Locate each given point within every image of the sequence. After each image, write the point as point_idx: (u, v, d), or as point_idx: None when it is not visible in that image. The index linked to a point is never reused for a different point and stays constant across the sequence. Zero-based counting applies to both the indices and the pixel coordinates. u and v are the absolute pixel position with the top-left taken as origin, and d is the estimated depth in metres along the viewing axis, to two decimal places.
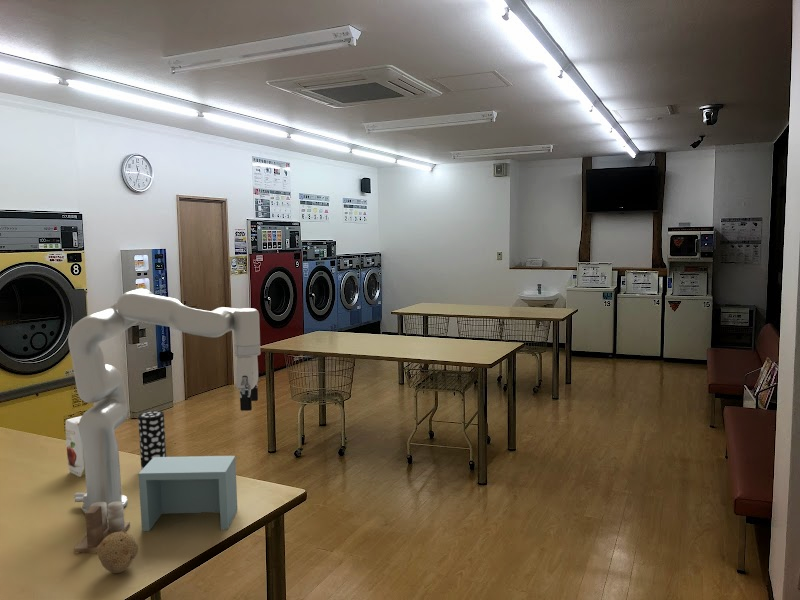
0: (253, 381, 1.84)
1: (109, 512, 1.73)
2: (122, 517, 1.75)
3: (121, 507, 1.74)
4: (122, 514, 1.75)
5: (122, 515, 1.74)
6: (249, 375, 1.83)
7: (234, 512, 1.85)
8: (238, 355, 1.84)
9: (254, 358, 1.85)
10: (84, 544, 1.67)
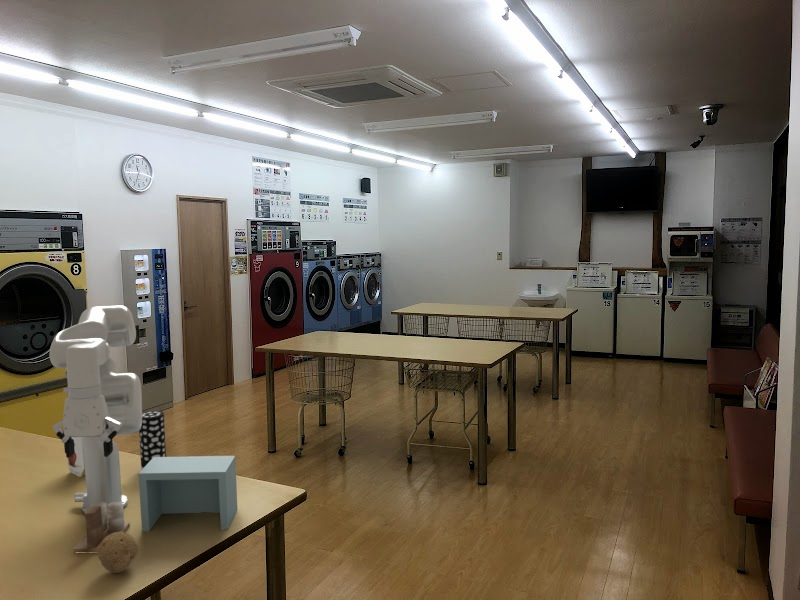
0: None
1: (109, 512, 1.73)
2: (122, 517, 1.74)
3: (121, 507, 1.74)
4: (122, 514, 1.74)
5: (122, 515, 1.74)
6: (107, 414, 1.64)
7: (234, 512, 1.85)
8: (93, 397, 1.60)
9: None
10: (84, 544, 1.66)
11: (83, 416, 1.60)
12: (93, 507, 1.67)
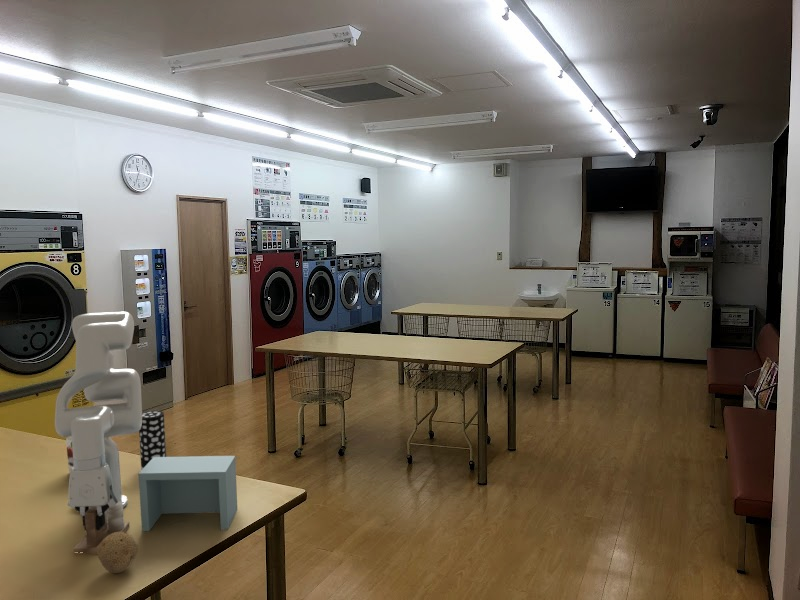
0: None
1: (108, 512, 1.72)
2: (122, 517, 1.74)
3: (120, 507, 1.74)
4: (122, 514, 1.74)
5: (121, 514, 1.74)
6: (112, 482, 1.66)
7: (234, 512, 1.85)
8: (98, 468, 1.62)
9: None
10: (83, 544, 1.66)
11: (88, 486, 1.62)
12: (93, 507, 1.67)
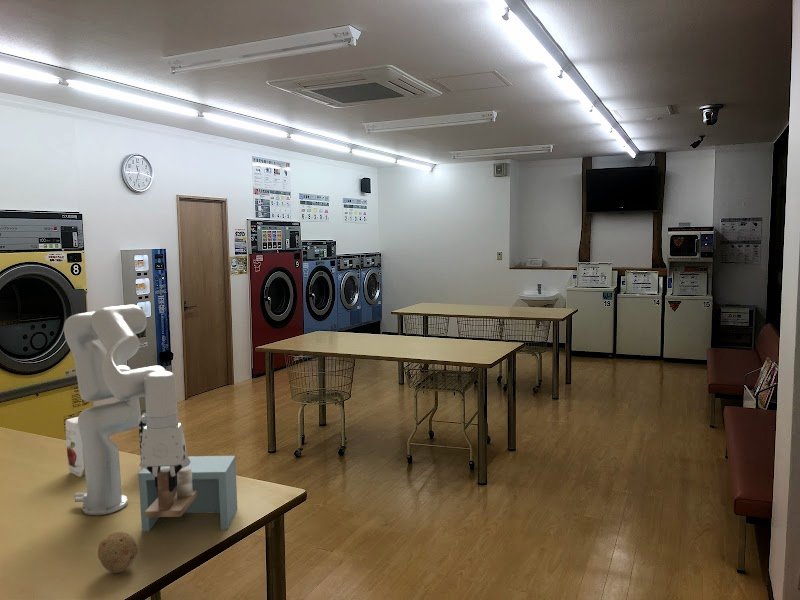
0: None
1: (178, 477, 1.66)
2: (191, 483, 1.68)
3: (190, 472, 1.68)
4: (191, 480, 1.68)
5: (191, 480, 1.68)
6: (184, 442, 1.61)
7: (234, 512, 1.85)
8: (172, 426, 1.57)
9: None
10: (154, 508, 1.60)
11: (162, 445, 1.57)
12: (164, 469, 1.61)
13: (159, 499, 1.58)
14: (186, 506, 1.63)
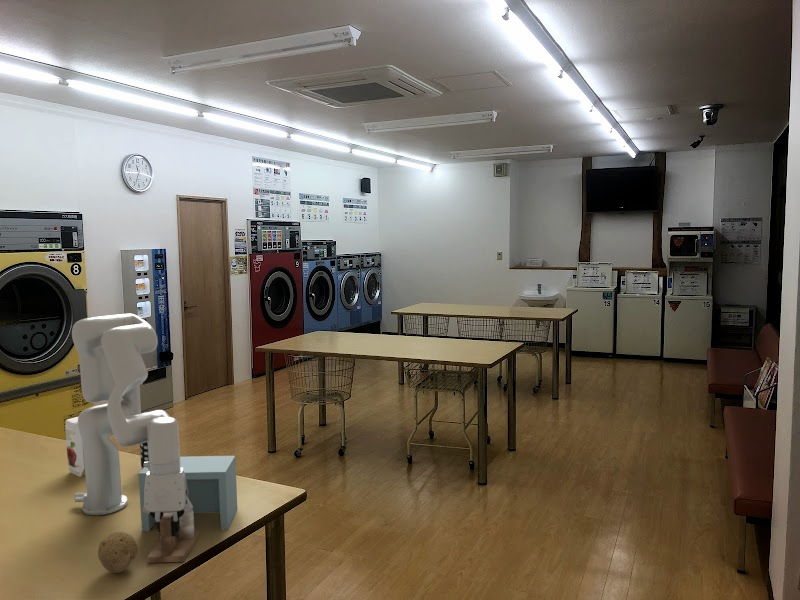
0: None
1: (180, 519, 1.68)
2: (192, 525, 1.69)
3: (192, 514, 1.69)
4: (192, 522, 1.69)
5: (192, 522, 1.69)
6: None
7: (234, 512, 1.85)
8: (175, 472, 1.58)
9: None
10: (157, 553, 1.61)
11: (164, 491, 1.58)
12: (166, 514, 1.62)
13: (162, 545, 1.60)
14: (188, 549, 1.64)
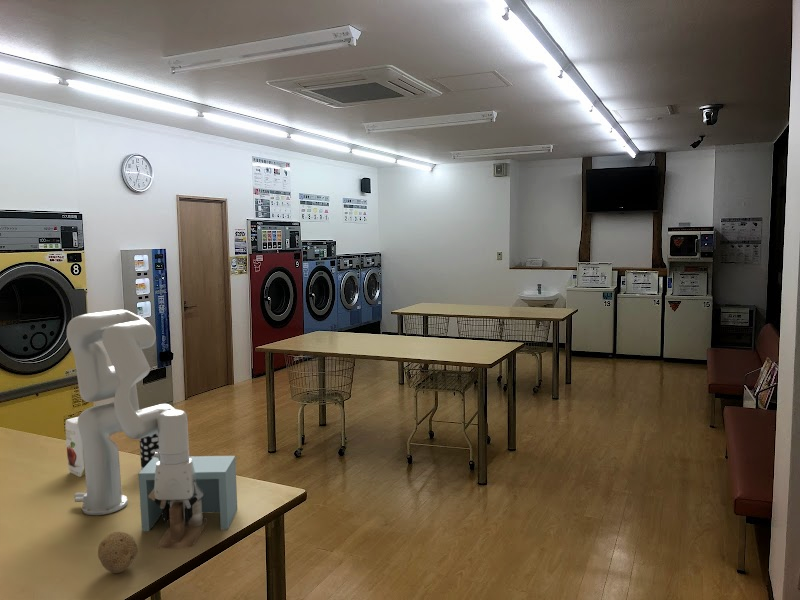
0: None
1: None
2: (201, 513, 1.77)
3: (200, 503, 1.76)
4: (201, 510, 1.77)
5: (201, 510, 1.77)
6: (195, 477, 1.70)
7: (234, 512, 1.85)
8: (184, 462, 1.66)
9: None
10: (167, 539, 1.69)
11: (174, 480, 1.66)
12: (176, 503, 1.70)
13: (171, 532, 1.67)
14: (197, 536, 1.72)
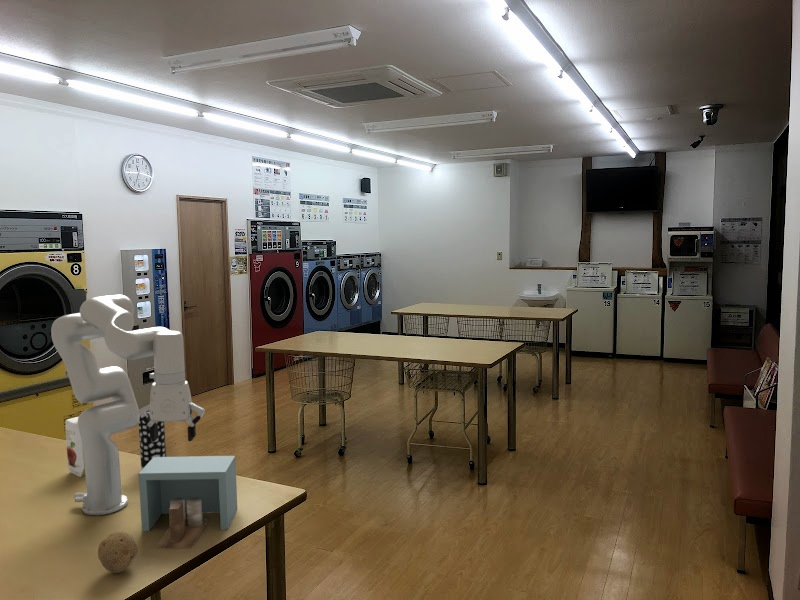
0: None
1: (189, 508, 1.75)
2: (201, 513, 1.77)
3: (200, 503, 1.76)
4: (201, 510, 1.77)
5: (201, 511, 1.77)
6: (191, 399, 1.68)
7: (234, 512, 1.85)
8: (179, 383, 1.64)
9: None
10: (166, 540, 1.69)
11: (169, 401, 1.64)
12: (175, 503, 1.69)
13: (171, 532, 1.67)
14: (196, 537, 1.72)
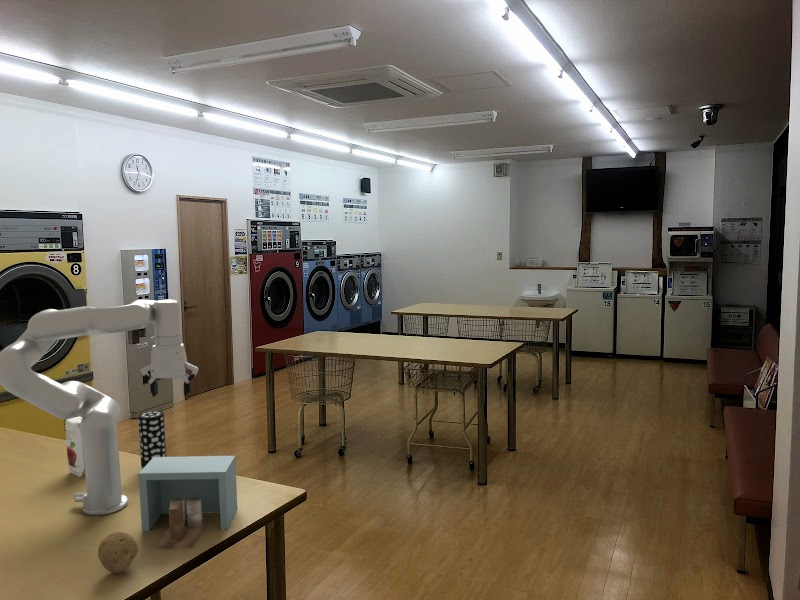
0: None
1: (188, 508, 1.75)
2: (200, 513, 1.76)
3: (200, 503, 1.76)
4: (200, 510, 1.76)
5: (200, 511, 1.76)
6: (186, 360, 1.93)
7: (234, 512, 1.85)
8: (176, 344, 1.89)
9: None
10: (166, 540, 1.69)
11: (167, 360, 1.89)
12: (175, 503, 1.69)
13: (171, 532, 1.67)
14: (196, 537, 1.72)
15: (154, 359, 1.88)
